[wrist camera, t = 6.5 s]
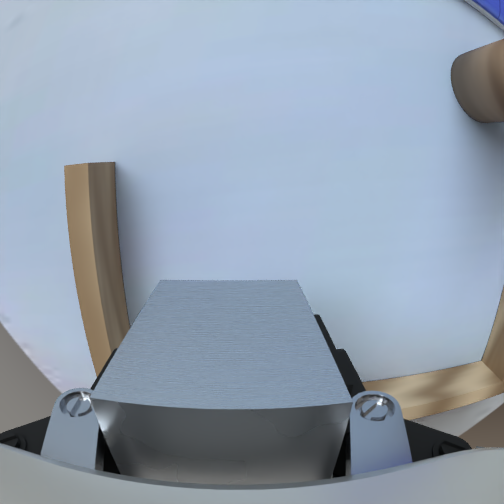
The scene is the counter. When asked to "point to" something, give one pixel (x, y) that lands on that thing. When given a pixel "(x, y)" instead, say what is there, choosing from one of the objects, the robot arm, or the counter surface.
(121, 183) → the counter surface
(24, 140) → the counter surface
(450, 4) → the counter surface
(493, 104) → the cylinder
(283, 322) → the block
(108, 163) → the corral
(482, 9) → the hard drive
